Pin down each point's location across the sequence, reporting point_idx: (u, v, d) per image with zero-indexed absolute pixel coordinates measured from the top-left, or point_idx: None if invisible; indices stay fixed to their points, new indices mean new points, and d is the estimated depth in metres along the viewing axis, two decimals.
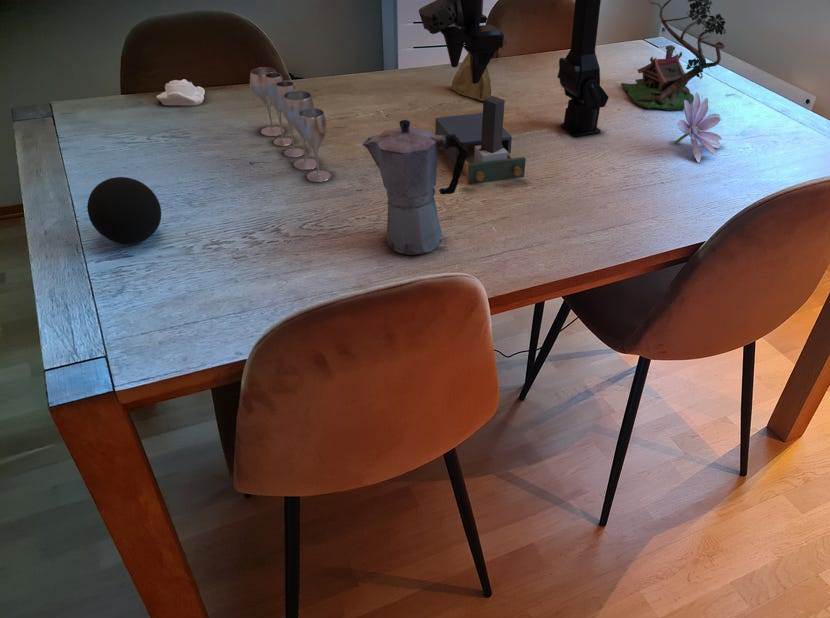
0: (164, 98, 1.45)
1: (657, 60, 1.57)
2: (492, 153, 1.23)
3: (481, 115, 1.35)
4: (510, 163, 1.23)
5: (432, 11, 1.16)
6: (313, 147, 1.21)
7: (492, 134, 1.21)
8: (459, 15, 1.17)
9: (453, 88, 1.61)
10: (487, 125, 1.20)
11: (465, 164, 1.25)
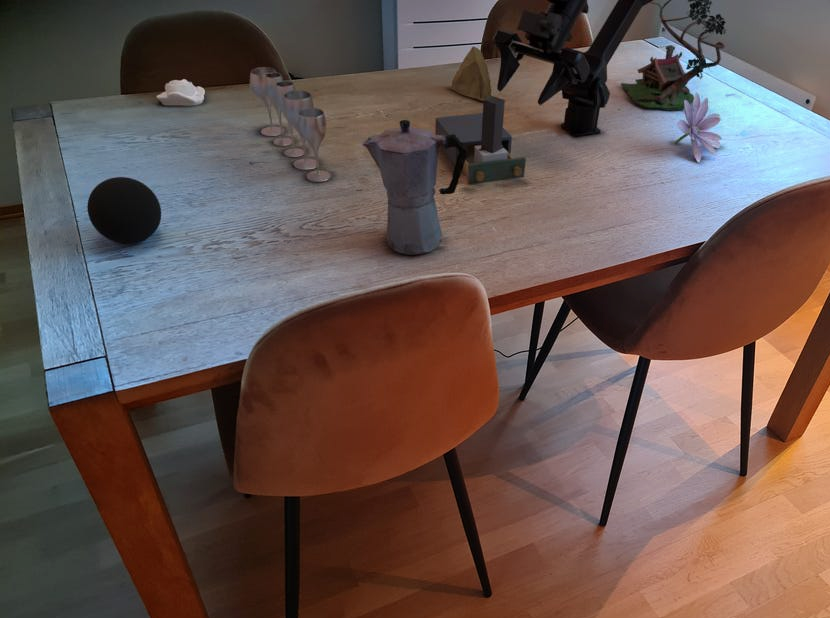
0: (164, 98, 1.45)
1: (657, 60, 1.57)
2: (492, 153, 1.23)
3: (481, 115, 1.35)
4: (510, 163, 1.23)
5: None
6: (313, 147, 1.21)
7: (492, 134, 1.21)
8: (556, 36, 1.19)
9: (453, 88, 1.61)
10: (487, 125, 1.20)
11: (465, 164, 1.25)
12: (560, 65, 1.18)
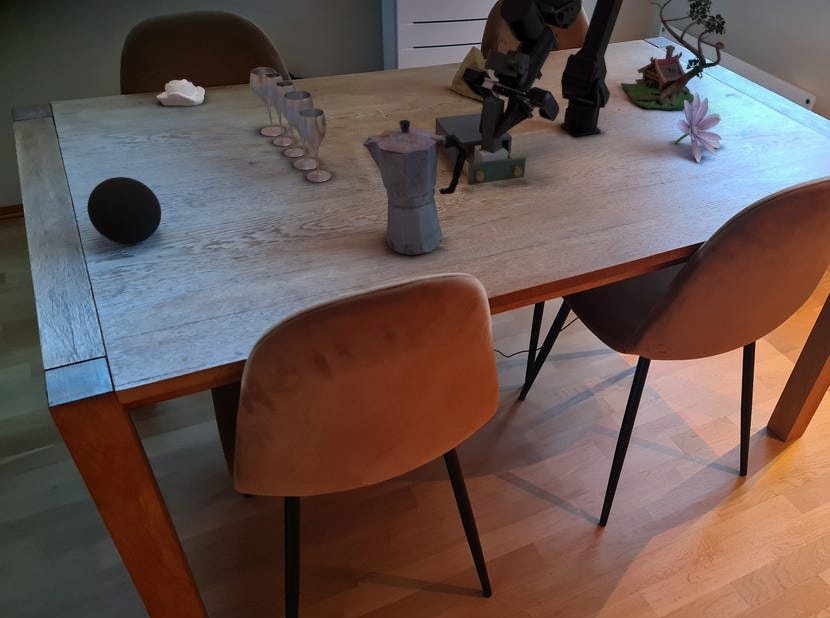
0: (164, 98, 1.45)
1: (657, 60, 1.57)
2: (492, 153, 1.23)
3: None
4: (510, 163, 1.23)
5: None
6: (313, 147, 1.21)
7: (492, 134, 1.21)
8: (524, 75, 1.17)
9: (453, 88, 1.61)
10: (487, 125, 1.20)
11: (465, 164, 1.25)
12: (514, 100, 1.17)
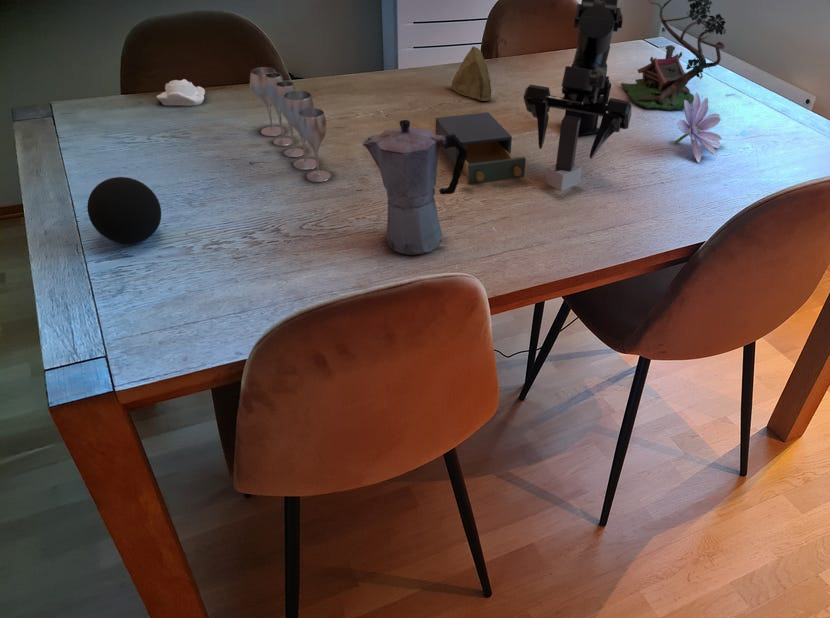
0: (164, 98, 1.45)
1: (657, 60, 1.57)
2: (569, 171, 1.22)
3: (481, 115, 1.35)
4: (510, 163, 1.23)
5: None
6: (313, 147, 1.21)
7: (571, 153, 1.20)
8: (597, 87, 1.17)
9: (453, 88, 1.61)
10: (565, 145, 1.19)
11: (465, 164, 1.25)
12: (610, 117, 1.16)
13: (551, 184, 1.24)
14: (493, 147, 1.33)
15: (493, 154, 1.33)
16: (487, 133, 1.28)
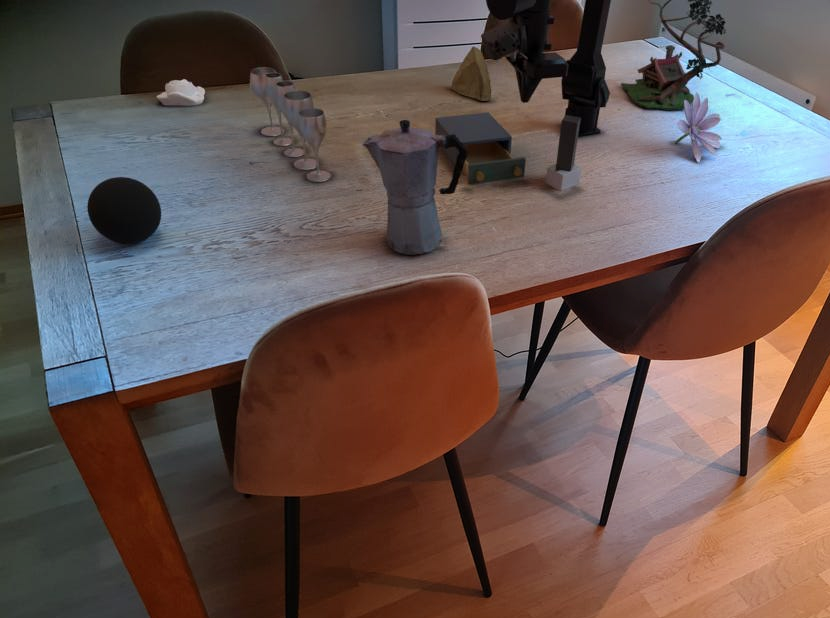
0: (164, 98, 1.45)
1: (657, 60, 1.57)
2: (569, 171, 1.22)
3: (481, 115, 1.35)
4: (510, 163, 1.23)
5: (495, 37, 1.12)
6: (313, 147, 1.21)
7: (571, 153, 1.20)
8: (523, 42, 1.13)
9: (453, 88, 1.61)
10: (565, 145, 1.19)
11: (465, 164, 1.25)
12: (518, 69, 1.16)
13: (551, 184, 1.24)
14: (493, 147, 1.33)
15: (493, 154, 1.33)
16: (487, 133, 1.28)
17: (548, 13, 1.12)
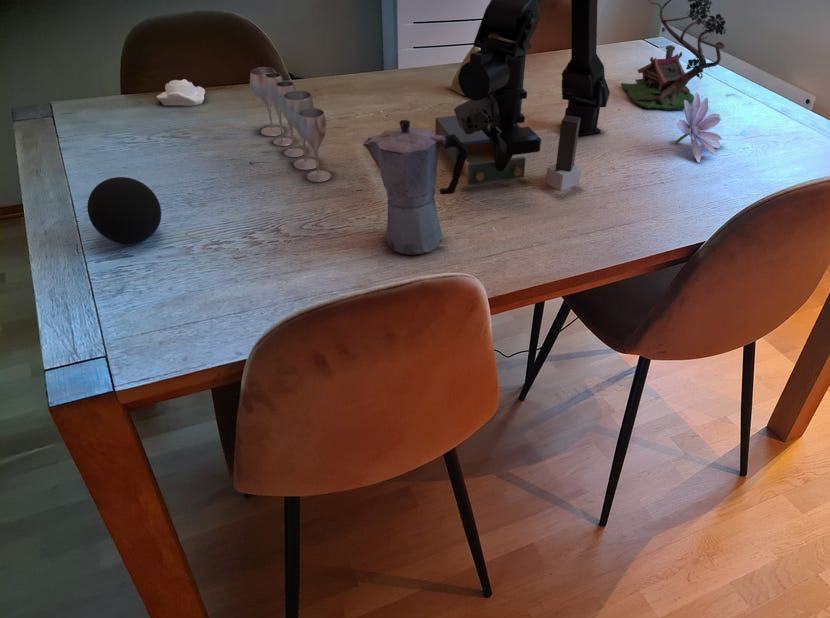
0: (164, 98, 1.45)
1: (657, 60, 1.57)
2: (569, 171, 1.22)
3: None
4: (509, 162, 1.23)
5: (467, 112, 1.12)
6: (313, 147, 1.21)
7: (571, 153, 1.20)
8: (495, 116, 1.12)
9: (453, 88, 1.61)
10: (565, 145, 1.19)
11: (465, 164, 1.25)
12: None
13: (551, 184, 1.24)
14: None
15: None
16: None
17: (521, 88, 1.11)
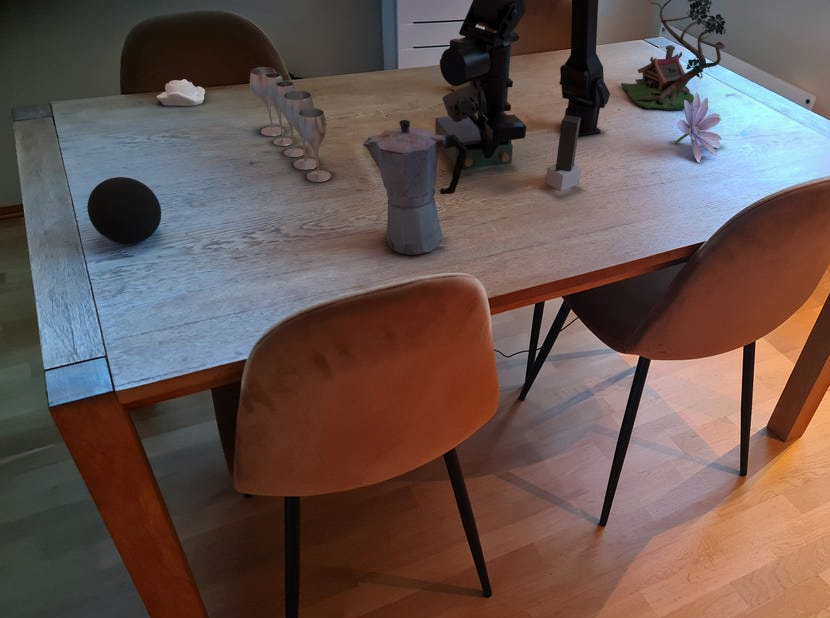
0: (164, 98, 1.45)
1: (657, 60, 1.57)
2: (569, 171, 1.22)
3: None
4: (497, 149, 1.27)
5: (455, 100, 1.16)
6: (313, 147, 1.21)
7: (571, 153, 1.20)
8: (482, 104, 1.16)
9: (453, 88, 1.61)
10: (565, 145, 1.19)
11: None
12: (479, 129, 1.20)
13: (551, 184, 1.24)
14: None
15: None
16: None
17: (506, 77, 1.16)
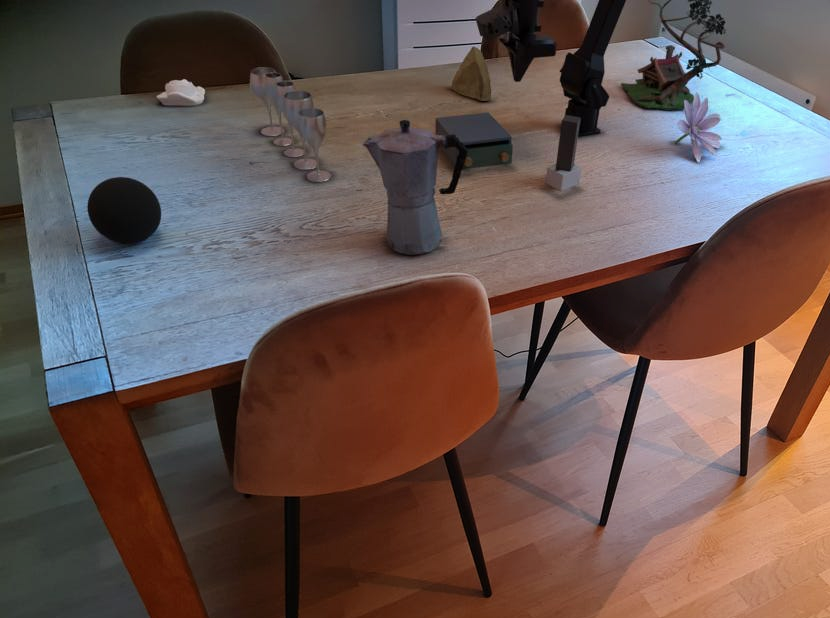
0: (164, 98, 1.45)
1: (657, 60, 1.57)
2: (569, 171, 1.22)
3: (481, 115, 1.35)
4: (497, 149, 1.27)
5: (488, 19, 1.20)
6: (313, 147, 1.21)
7: (571, 153, 1.20)
8: (514, 23, 1.21)
9: (453, 88, 1.61)
10: (565, 145, 1.19)
11: None
12: (511, 50, 1.24)
13: (551, 184, 1.24)
14: None
15: None
16: (487, 133, 1.28)
17: None
